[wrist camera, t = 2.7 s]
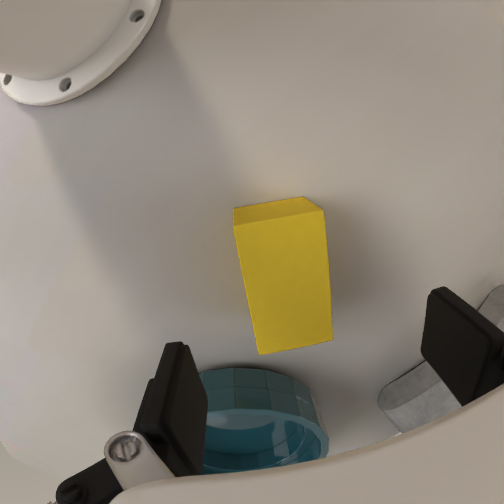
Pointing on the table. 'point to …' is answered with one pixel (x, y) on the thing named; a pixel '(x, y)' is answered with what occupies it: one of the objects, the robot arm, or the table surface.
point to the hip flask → (430, 383)
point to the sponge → (285, 273)
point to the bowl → (259, 421)
